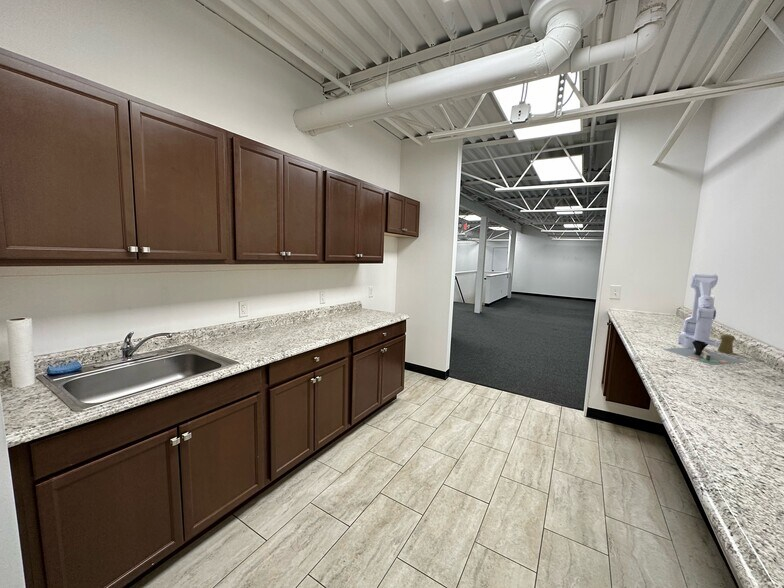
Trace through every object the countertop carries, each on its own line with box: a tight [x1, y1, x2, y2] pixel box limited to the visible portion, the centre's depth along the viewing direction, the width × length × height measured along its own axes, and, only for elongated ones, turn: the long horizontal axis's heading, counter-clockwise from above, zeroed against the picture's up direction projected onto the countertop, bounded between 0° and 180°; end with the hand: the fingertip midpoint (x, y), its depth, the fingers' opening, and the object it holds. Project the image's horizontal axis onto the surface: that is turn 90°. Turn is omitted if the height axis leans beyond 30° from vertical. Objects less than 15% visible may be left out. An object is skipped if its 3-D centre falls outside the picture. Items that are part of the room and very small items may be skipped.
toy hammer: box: [693, 347, 710, 361], centre depth 161 cm, size 14×6×4 cm, turn 151°
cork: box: [717, 333, 736, 354], centre depth 170 cm, size 6×6×11 cm
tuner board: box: [662, 347, 749, 366], centre depth 164 cm, size 24×23×1 cm
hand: (698, 355), depth 162 cm, fingers closed, pressing on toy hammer
